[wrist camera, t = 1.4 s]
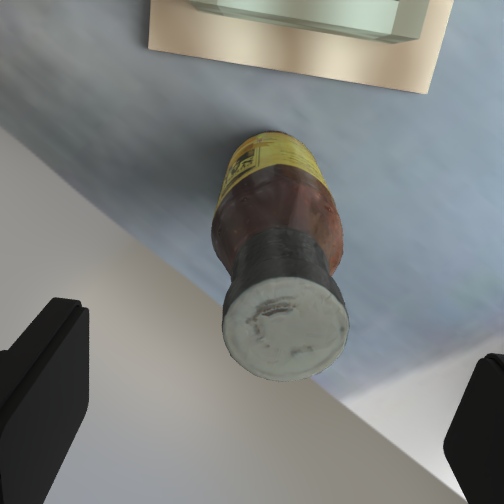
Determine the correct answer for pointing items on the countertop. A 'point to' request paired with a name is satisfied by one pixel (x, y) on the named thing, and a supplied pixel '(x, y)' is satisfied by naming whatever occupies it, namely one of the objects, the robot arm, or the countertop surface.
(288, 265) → the sauce bottle
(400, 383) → the countertop surface
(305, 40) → the tray
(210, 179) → the countertop surface
